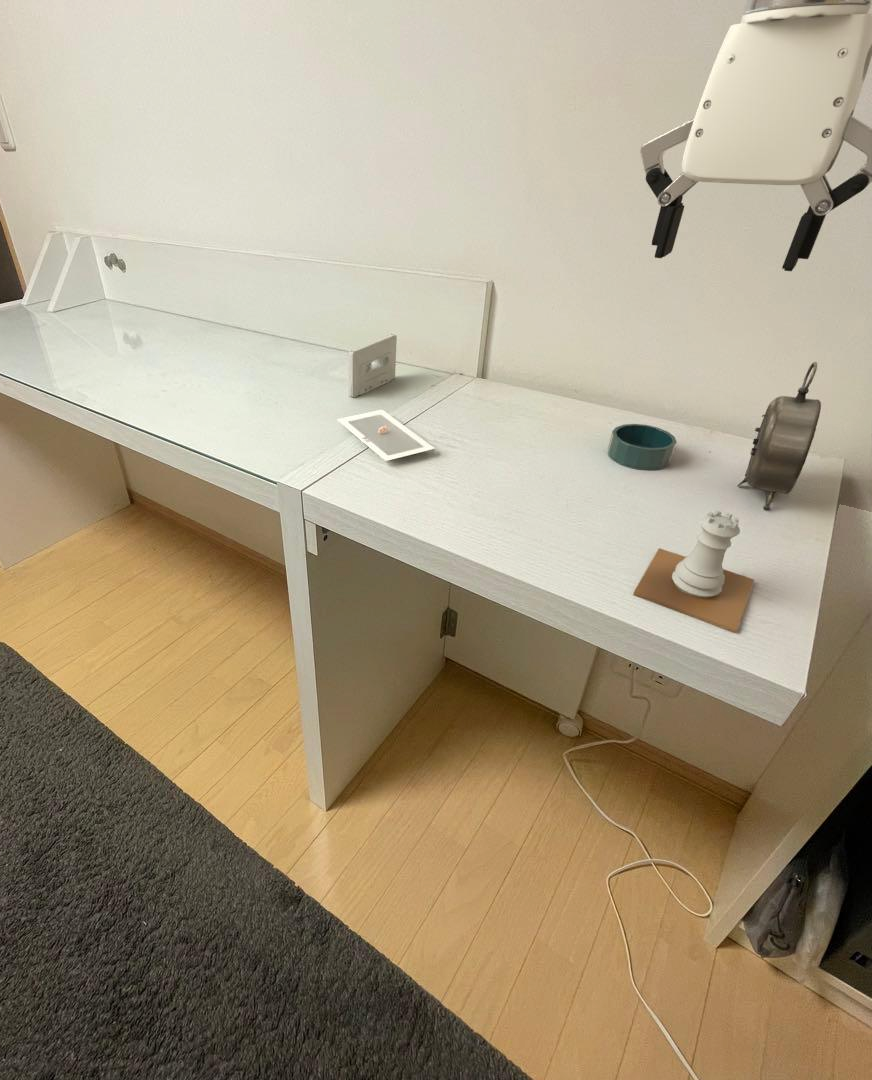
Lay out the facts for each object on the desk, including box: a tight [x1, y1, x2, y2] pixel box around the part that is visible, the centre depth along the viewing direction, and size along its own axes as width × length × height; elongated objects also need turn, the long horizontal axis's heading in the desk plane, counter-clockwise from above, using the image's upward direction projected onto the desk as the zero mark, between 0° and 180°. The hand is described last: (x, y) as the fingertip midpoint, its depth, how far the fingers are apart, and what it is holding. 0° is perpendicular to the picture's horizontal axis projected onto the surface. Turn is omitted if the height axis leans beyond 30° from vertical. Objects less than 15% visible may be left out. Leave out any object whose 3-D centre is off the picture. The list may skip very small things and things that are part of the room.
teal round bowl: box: [606, 423, 677, 471], centre depth 82 cm, size 8×8×3 cm
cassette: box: [348, 333, 398, 398], centre depth 103 cm, size 12×2×8 cm, turn 139°
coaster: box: [632, 547, 755, 634], centre depth 60 cm, size 9×9×1 cm
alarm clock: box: [737, 361, 822, 511], centre depth 70 cm, size 11×5×16 cm, turn 147°
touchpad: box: [336, 409, 436, 462], centre depth 88 cm, size 8×15×2 cm, turn 25°
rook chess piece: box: [672, 510, 741, 598], centre depth 58 cm, size 4×4×8 cm
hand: (722, 261), depth 52 cm, fingers open, 9 cm apart
